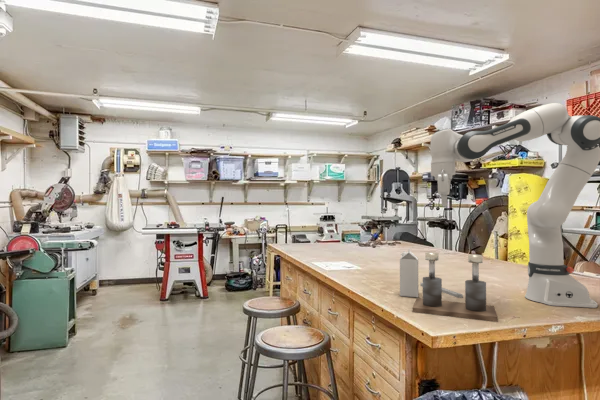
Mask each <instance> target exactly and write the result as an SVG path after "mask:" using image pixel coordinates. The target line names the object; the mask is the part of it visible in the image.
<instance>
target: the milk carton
mask: <svg viewBox="0 0 600 400" xmlns="http://www.w3.org/2000/svg"><path fill="white" fill-rule="evenodd" d="M410 249H411V248H410V247H409V248H408V250H407V252H406V251H403V252H401V253H400V258H399V296H400V297H409V298H419V257H418V256H416V254H414V252H412V251H411V250H410Z"/></svg>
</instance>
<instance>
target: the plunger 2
mask: <svg viewBox="0 0 600 400" xmlns="http://www.w3.org/2000/svg"><path fill="white" fill-rule="evenodd" d="M483 257H484V256H483V255H482V254H477V253H476V254H474V253H473V254H468V255H467V259H468V261H467V262H468V263H470V264H471V268H472V269H471V271H472V272H471V274H472V277H471V280H472V281H476V282H478V281H480V278H479V277H480V276H479V275H480V274H479V273H480V272H479V271H480V270H479V269H480V267H479V266H480V264H483V261H484V260H483Z"/></svg>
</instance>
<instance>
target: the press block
mask: <svg viewBox="0 0 600 400" xmlns="http://www.w3.org/2000/svg"><path fill="white" fill-rule="evenodd" d="M442 281H443V279H442V278H441V277H437V276H435V278H429V276H423V277H422V283H423V287H422V298H419V297H416V299H415V301H414V304H413V305H412V309H411V310H412V313H419V314H425V315H436V316H446V317H453V318H454V317H455V318H461V319H462V318H463V319H471V320H479V321H486V322H495V323H496V322H499V320H498V319H499V318H498V314H497V311H496V309H495V305H489V304H487V282H485V281H483V280H479V281H478V282H476V281H472V279H467V280H465V281H464V285H465V286H464V289H465V290H464V291H465V293H464V296H465V301H464V302H458V301H448V300H443V292H442V288H443V287H442V286H443V284H442Z"/></svg>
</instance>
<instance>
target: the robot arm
mask: <svg viewBox="0 0 600 400" xmlns="http://www.w3.org/2000/svg"><path fill="white" fill-rule="evenodd" d="M545 135H546V136H547V138H548V140H549V141H550V142H551V143H553V144H555V145H559V146H566V152H565V155H564V157H563V158H562V159H561V161H560V162H559V164H558V165H557V167H556V168H555V170H554V171H553V172H552V174H551V176H550V178H549V179H548V180H547V182H546V183H545V184H546V185H545V186H544V189H543V190H542V192H541V194H540V196H539V197H538V199H537V200H536V201H534V202H532V203H531V204H530V205H529V206H528V208H527V210H526V222H527V234H528V245H529V248H528V249H529V258H528V259H529V261H528V264H527V275H528V283H527V288H526V289H527V290H526V293H525V295H524V297H525V299H528V300H531V301H533V302H537V303H542V304H545V305H548V306H557V307H573V308H574V307H576V308H589V309H590V308H594V309H595V308H598V305H599V304H598V302H596V301H595V300H594V299H591V298H590V293H589V290H588V288H587V287H586V286H585V285H584V284H583V283H582V282H581V281H579V280H577V279H576V278H575V277H573V276H572V275H571V274H572V273H574V272H575V269H574V268H573V267H571V266H567V265H566V264H564V263H565V262H564V242H563V236H562V231H561V226H562V225H564V224H565V222H566V221H567V219H568V216H569V214H570V213H571V211H572V209H573V207H574V206H575V203H576V201H577V199H578V197H579V195H580V194H581V192H582V191H583V189H584V187H585V186H586V185H587V184H588V182H589V181H590V179H591V177H592V176H593V175H594V172H596V169H597V168H598V165H599V163H600V117H598V116H596V115H592V114H589V115H588V114H585V115H580V114H579V115H572V116H570V115H569V113H568V110H567V108H566V106H564V104H562V103H560V102H552V103H547V104H542V105H538V106H536V107H533V108H529V109H528V110H525V111H523V112H520V113H518V114H517V115H515V116H514V117H512V118H510V120H509V121H508V122H507V123H504V124H501V125H498V126H497V127H494V128H490V129H487V130H472V131H471V130H470V131H468V132H466V133H464V134H460V133H459V132H458V133H457V132H456V131H454V130H453V129H451V128H443V129H440V130H438V131H435V132H434V133H432V135H431V138H430V145H429V146H430V148H429V149H430V156H431V162H430V175H431V177H434V180H435V181H437V194H438V195H440V200H441V206H442V207H447V206H448V195H450V189H451V181H452V180H453V176H455V175H456V162H460V163H467V162H471V161H473V160H477V159H480V158H482V157H483V156H485V155H486V154H487V153H488V152H489V151H490V150H492V149H493V148H494V147H496V146H499V145H503V144H505V143H507V142H510V141H514V140H515V141H517V142H519V143H520V142H526V141H531V140H534V139H538V138H540V137H543V136H545Z"/></svg>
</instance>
